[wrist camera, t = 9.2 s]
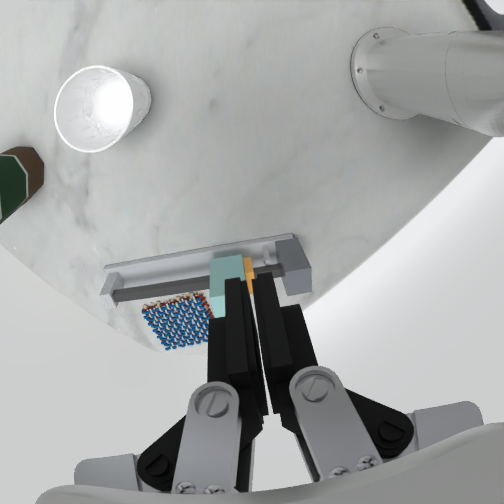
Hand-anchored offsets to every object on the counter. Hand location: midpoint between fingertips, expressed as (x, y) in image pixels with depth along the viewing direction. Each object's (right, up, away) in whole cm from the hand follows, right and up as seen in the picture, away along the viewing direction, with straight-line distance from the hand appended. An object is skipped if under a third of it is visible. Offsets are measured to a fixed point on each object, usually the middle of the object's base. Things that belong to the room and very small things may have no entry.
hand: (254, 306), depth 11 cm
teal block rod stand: (-8, +1, +30) cm, 31 cm away
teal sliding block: (-3, 0, +28) cm, 28 cm away
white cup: (-15, +19, +18) cm, 30 cm away
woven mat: (-11, -9, +36) cm, 39 cm away
